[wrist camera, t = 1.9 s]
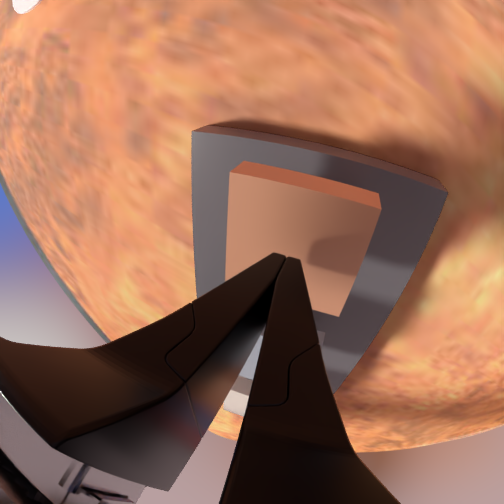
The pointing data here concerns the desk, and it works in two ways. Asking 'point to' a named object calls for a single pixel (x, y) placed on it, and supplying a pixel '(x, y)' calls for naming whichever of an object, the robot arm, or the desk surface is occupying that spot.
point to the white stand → (25, 5)
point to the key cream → (238, 396)
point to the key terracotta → (300, 227)
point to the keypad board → (337, 169)
